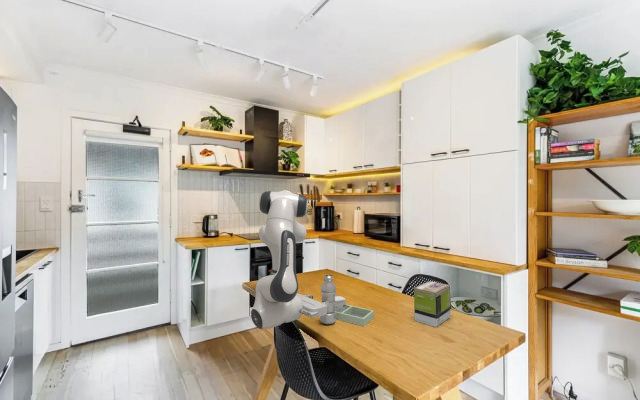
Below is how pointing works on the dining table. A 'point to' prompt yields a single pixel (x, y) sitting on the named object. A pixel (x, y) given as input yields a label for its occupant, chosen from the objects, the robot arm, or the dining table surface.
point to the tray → (355, 315)
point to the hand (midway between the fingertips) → (319, 299)
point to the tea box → (432, 303)
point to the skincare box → (340, 304)
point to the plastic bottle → (328, 299)
